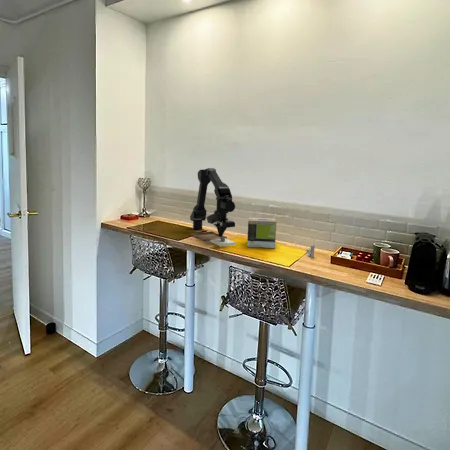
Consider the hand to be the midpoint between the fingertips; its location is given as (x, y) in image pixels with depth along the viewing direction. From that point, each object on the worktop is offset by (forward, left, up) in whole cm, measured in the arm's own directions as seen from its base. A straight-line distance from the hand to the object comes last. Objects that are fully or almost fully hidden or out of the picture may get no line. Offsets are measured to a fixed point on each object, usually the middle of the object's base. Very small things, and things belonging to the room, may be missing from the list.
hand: (220, 237), depth 192 cm
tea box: (+14, +17, -4) cm, 23 cm away
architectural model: (+40, +21, -4) cm, 46 cm away
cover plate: (+2, 0, -4) cm, 4 cm away
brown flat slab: (-13, 0, -3) cm, 13 cm away
